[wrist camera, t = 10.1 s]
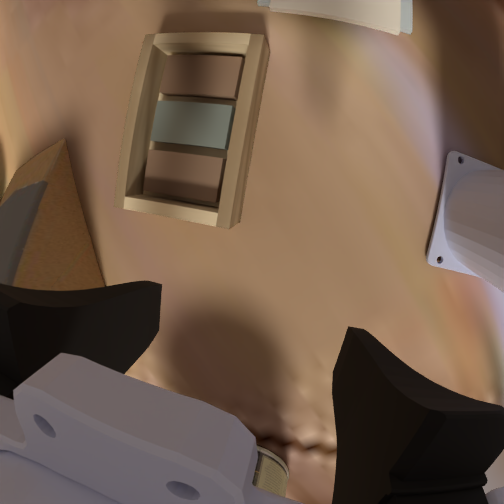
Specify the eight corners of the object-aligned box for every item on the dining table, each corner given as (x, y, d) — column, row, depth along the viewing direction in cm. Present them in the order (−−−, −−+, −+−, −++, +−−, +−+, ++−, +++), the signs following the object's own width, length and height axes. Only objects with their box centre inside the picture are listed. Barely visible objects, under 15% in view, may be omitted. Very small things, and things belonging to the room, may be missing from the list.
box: (270, 52, 18) (264, 34, 15) (239, 222, 21) (229, 229, 18) (163, 48, 19) (145, 34, 16) (135, 202, 22) (113, 206, 19)
